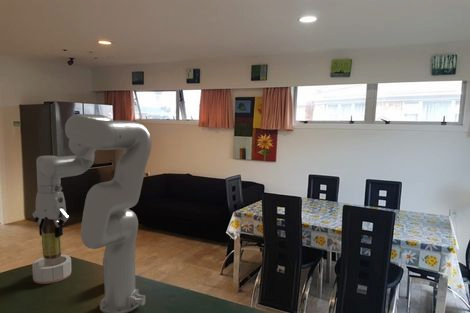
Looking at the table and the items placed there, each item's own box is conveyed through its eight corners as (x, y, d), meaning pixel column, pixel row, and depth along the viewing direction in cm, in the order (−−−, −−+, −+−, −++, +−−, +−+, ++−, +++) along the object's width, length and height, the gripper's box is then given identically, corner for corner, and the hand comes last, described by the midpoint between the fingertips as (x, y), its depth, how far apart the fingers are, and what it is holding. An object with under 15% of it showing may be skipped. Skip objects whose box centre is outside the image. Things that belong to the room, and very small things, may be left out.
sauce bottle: (50, 252, 126) (48, 203, 124) (65, 253, 125) (63, 204, 123) (38, 259, 120) (36, 207, 118) (53, 261, 119) (51, 208, 117)
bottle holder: (78, 270, 128) (78, 256, 127) (53, 286, 116) (52, 270, 115) (51, 266, 131) (51, 252, 131) (24, 281, 119) (23, 266, 118)
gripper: (76, 188, 121) (77, 234, 123) (38, 185, 125) (40, 230, 127) (61, 192, 114) (63, 241, 116) (21, 189, 118) (24, 236, 120)
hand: (51, 234), depth 122 cm, fingers closed on sauce bottle, 6 cm apart
